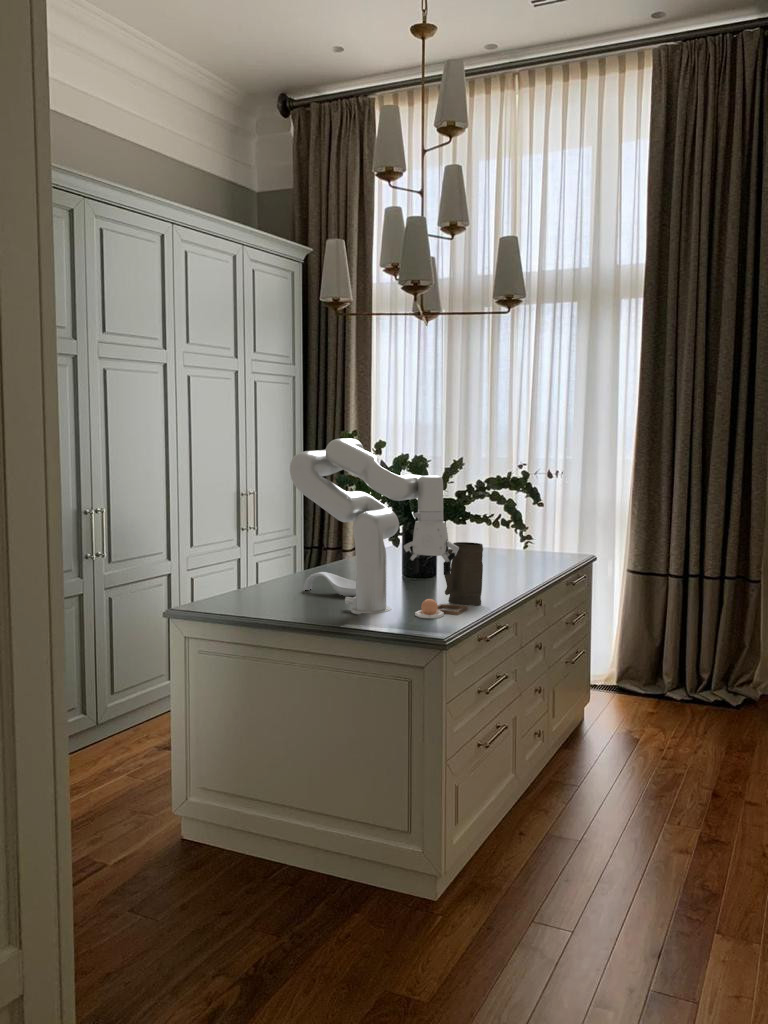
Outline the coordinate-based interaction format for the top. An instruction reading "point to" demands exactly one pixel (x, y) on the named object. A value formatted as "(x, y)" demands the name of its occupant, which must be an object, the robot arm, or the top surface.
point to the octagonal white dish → (422, 615)
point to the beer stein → (465, 574)
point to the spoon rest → (334, 583)
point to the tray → (457, 612)
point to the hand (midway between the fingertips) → (431, 573)
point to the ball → (429, 607)
